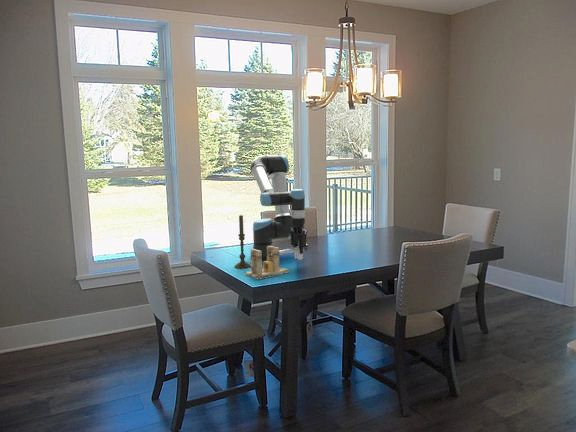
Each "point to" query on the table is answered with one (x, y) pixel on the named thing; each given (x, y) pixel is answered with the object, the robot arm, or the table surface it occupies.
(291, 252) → the shaft
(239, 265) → the candlestick holder
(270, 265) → the spacer
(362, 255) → the table surface
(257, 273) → the shaft stand
